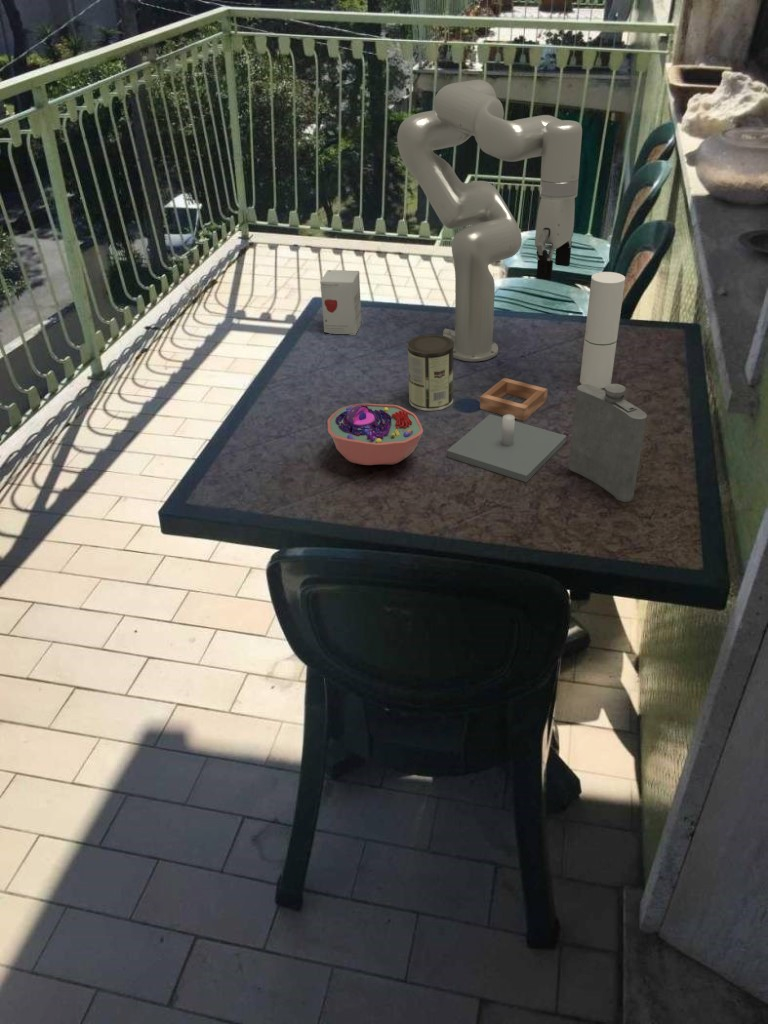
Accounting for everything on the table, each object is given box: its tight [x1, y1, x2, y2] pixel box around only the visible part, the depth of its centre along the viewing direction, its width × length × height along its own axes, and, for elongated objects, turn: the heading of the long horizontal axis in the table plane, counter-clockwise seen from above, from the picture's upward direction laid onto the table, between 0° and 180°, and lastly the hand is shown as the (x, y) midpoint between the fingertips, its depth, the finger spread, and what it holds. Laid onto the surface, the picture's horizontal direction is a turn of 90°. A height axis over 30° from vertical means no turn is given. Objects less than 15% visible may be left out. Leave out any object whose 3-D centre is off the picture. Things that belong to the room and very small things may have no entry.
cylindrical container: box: [579, 271, 626, 389], centre depth 184 cm, size 7×7×25 cm
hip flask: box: [567, 383, 648, 503], centre depth 151 cm, size 16×4×20 cm, turn 33°
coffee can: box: [406, 334, 454, 412], centre depth 182 cm, size 10×10×14 cm
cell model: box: [326, 403, 424, 466], centre depth 163 cm, size 17×20×11 cm
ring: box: [479, 377, 548, 422], centre depth 182 cm, size 11×11×3 cm
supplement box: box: [319, 269, 362, 336], centre depth 218 cm, size 9×9×15 cm
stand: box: [446, 413, 567, 483], centre depth 165 cm, size 18×18×8 cm
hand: (553, 271), depth 175 cm, fingers open, 9 cm apart
